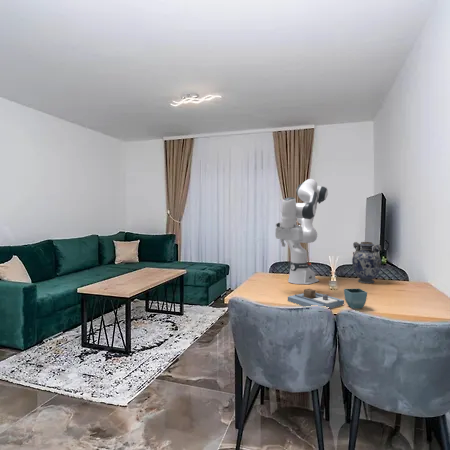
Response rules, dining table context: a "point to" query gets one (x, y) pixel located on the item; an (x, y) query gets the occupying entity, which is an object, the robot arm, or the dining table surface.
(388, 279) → the dining table surface
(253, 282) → the dining table surface
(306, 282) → the robot arm
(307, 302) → the puzzle board
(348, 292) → the flower pot
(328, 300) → the lid
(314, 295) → the walnut block
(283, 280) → the dining table surface
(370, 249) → the decorative vase
